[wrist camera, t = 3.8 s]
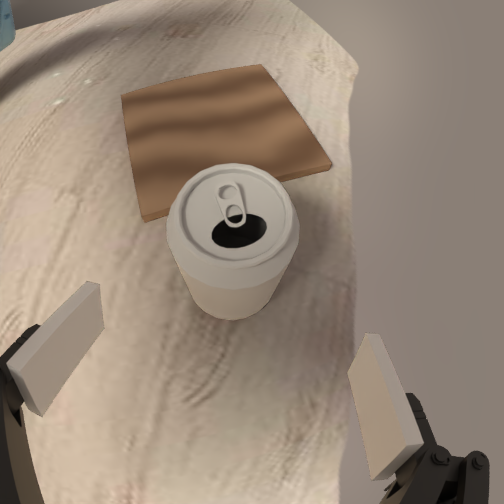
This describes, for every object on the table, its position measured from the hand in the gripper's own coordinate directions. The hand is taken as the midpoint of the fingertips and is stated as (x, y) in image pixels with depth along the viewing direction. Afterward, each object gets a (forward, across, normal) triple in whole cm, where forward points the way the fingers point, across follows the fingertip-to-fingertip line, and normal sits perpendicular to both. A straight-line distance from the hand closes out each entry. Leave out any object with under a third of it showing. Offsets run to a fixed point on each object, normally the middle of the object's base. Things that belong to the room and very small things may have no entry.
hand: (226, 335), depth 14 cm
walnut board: (+24, -6, +9) cm, 27 cm away
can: (+12, -1, -4) cm, 13 cm away
